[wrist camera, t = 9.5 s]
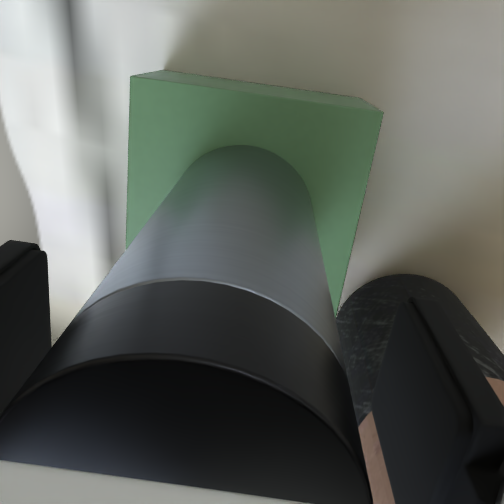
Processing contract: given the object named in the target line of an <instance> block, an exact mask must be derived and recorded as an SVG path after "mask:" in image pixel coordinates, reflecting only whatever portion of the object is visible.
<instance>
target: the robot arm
mask: <svg viewBox="0 0 504 504" xmlns="http://www.w3.org/2000/svg"><path fill="white" fill-rule="evenodd" d="M50 349H51V327H50V305H49V284H48V262H47V254H46V252H45V251H40V248H39V246H38V245H37V244H35V243H28V242H21V241H14V240H9V241H7V242H6V243H4V244H3V245H2V246H0V415H1V414H2V412H3V411H4V410H5V408H6V407H7V406H8V404H9V403H10V402H11V400H12V399H13V398H14V397H15V395H16V394H17V393H18V391H19V390H20V389H21V387H22V386H23V385H24V383H25V382H26V381H27V379H28V378H29V377H30V376H31V374H32V373H33V372H34V370H35V369H36V368H37V366H38V365H39V364H40V362H41V361H42V360H43V358H44V357H45V356H46V354H47V353H48V352H49V351H50ZM371 409H372V414H373V418H374V422H375V426H376V430H377V434H378V438H379V442H380V446H381V450H382V454H383V458H384V462H385V465H386V469H387V473H388V477H389V481H390V485H391V489H392V493H393V497H394V501H395V504H504V406H503V404H502V403H501V401H500V399H499V398H498V396H497V395H496V393H495V392H494V390H493V388H492V387H491V385H490V384H489V382H488V380H487V379H486V377H485V376H484V374H483V372H482V371H481V369H480V368H479V366H478V364H477V363H476V361H475V360H474V358H473V356H472V355H471V353H470V352H469V350H468V348H467V347H466V345H465V344H464V342H463V340H462V339H461V337H460V336H459V334H458V332H457V331H456V329H455V328H454V326H453V324H452V323H451V321H450V320H449V318H448V316H447V315H446V313H445V312H444V310H443V308H442V307H441V305H440V304H439V302H438V301H437V300H431V299H424V298H417V297H410V298H409V299H408V301H407V302H401V303H400V304H399V306H398V308H397V312H396V315H395V319H394V322H393V326H392V329H391V332H390V336H389V339H388V343H387V346H386V350H385V353H384V356H383V360H382V363H381V367H380V370H379V373H378V377H377V380H376V384H375V387H374V391H373V394H372V400H371ZM0 504H310V503H303V502H296V501H289V500H282V499H276V498H269V497H262V496H255V495H248V494H241V493H234V492H227V491H220V490H213V489H205V488H198V487H191V486H184V485H177V484H170V483H163V482H156V481H149V480H141V479H134V478H127V477H120V476H113V475H106V474H98V473H91V472H84V471H77V470H70V469H62V468H55V467H47V466H40V465H33V464H25V463H18V462H11V461H3V460H0Z"/></svg>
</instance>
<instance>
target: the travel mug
mask: <svg viewBox="0 0 504 504" xmlns="http://www.w3.org/2000/svg"><path fill="white" fill-rule="evenodd" d="M410 297H417V298H424V299H431V300H437V301H438V302H439V304H440V305H441V307H442V308H443V310H444V312H445V313H446V315H447V316H448V318H449V320H450V321H451V323H452V324H453V326H454V328H455V329H456V331H457V332H458V334H459V336H460V337H461V339H462V340H463V342H464V344H465V345H466V347H467V348H468V350H469V352H470V353H471V355H472V356H473V358H474V360H475V361H476V363H477V364H478V366H479V368H480V369H481V371H482V372H483V374H484V376H485V377H486V379H487V380H488V382H489V384H490V385H491V387H492V388H493V390H494V392H495V393H496V395H497V396H498V398H499V399H500V401H501V403H502V404H503V406H504V355H503V354H502V352H501V351H500V350H499V349H498V347H497V346H496V345H495V344H494V342H493V341H492V340H491V339H490V337H489V336H488V335H487V334H486V332H485V331H484V330H483V328H482V327H481V326H480V325H479V323H478V322H477V321H476V320H475V318H474V317H473V316H472V315H471V314H470V312H469V311H468V310H467V309H466V307H465V306H464V305H463V304H462V303H461V301H460V300H459V299H458V298H457V297H456V296H455V295H454V294H453V293H452V292H451V291H450V290H449V289H448V288H447V287H445V286H444V285H442V284H441V283H438V282H436V281H434V280H432V279H429V278H426V277H423V276H418V275H410V274H399V275H391V276H386V277H383V278H379V279H377V280H374V281H372V282H370V283H368V284H366V285H364V286H362V287H361V288H360V289H358V290H357V291H356V292H354V293H353V294H352V295H351V296H350V297H349V298H348V299H347V301H346V302H345V303H344V305H343V306H342V308H341V309H340V311H339V313H338V315H337V318H336V324H337V329H338V334H339V339H340V343H341V348H342V353H343V358H344V363H345V367H346V372H347V377H348V382H349V387H350V391H351V396H352V401H353V406H354V410H355V415H356V420H357V425H358V429H359V434H360V439H361V444H362V449H363V453H364V458H365V463H366V468H367V473H368V477H369V482H370V487H371V492H372V497H373V504H395V501H394V497H393V493H392V489H391V485H390V481H389V477H388V473H387V469H386V465H385V462H384V458H383V454H382V450H381V446H380V442H379V438H378V434H377V430H376V426H375V422H374V418H373V414H372V409H371V400H372V394H373V391H374V387H375V384H376V380H377V377H378V373H379V370H380V367H381V363H382V360H383V356H384V353H385V350H386V346H387V343H388V339H389V336H390V332H391V329H392V326H393V322H394V319H395V315H396V312H397V308H398V306H399V304H400V303H401V302H407V301H408V299H409V298H410Z"/></svg>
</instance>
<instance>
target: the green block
mask: <svg viewBox="0 0 504 504" xmlns="http://www.w3.org/2000/svg"><path fill="white" fill-rule="evenodd" d="M383 114H384V112H383V111H381V110H379V109H378V108H376V107H374V106H373V105H371V104H369V103H368V102H366V101H364V100H363V99H361V98H356V97H349V96H342V95H335V94H328V93H321V92H314V91H307V90H300V89H293V88H286V87H279V86H272V85H265V84H258V83H251V82H244V81H237V80H230V79H223V78H216V77H209V76H202V75H195V74H188V73H181V72H174V71H167V70H160V71H155V72H149V73H144V74H138V75H133V76H131V77H130V106H129V143H128V181H127V219H126V249H127V248H128V247H129V245H130V244H131V243H132V241H133V240H134V239H135V237H136V236H137V235H138V233H139V232H140V231H141V230H142V228H143V227H144V226H145V224H146V223H147V222H148V220H149V219H150V218H151V216H152V215H153V214H154V212H155V211H156V210H157V209H158V207H159V206H160V205H161V203H162V202H163V201H164V199H165V198H166V197H167V195H168V194H169V193H170V191H171V190H172V189H173V187H174V186H175V185H176V184H177V182H178V181H179V180H180V178H181V177H182V176H183V174H184V173H185V172H186V170H187V169H188V168H189V167H190V166H191V165H192V164H193V163H194V162H195V161H196V160H198V159H199V158H200V157H202V156H203V155H205V154H207V153H209V152H211V151H213V150H216V149H218V148H222V147H226V146H233V145H249V146H255V147H259V148H262V149H266V150H268V151H270V152H273V153H275V154H276V155H278V156H280V157H281V158H283V159H284V160H285V161H287V162H288V163H289V164H290V165H291V166H292V167H293V168H294V169H295V170H296V171H297V172H298V174H299V175H300V177H301V178H302V179H303V181H304V183H305V185H306V187H307V190H308V193H309V195H310V200H311V205H312V209H313V214H314V219H315V224H316V229H317V233H318V238H319V243H320V248H321V253H322V257H323V262H324V267H325V272H326V276H327V281H328V286H329V291H330V296H331V300H332V305H333V310H334V315H335V319H336V315H337V310H338V306H339V302H340V298H341V293H342V289H343V285H344V281H345V276H346V272H347V268H348V263H349V259H350V255H351V251H352V246H353V242H354V238H355V233H356V229H357V225H358V221H359V216H360V212H361V208H362V204H363V199H364V195H365V191H366V186H367V182H368V178H369V174H370V169H371V165H372V161H373V156H374V152H375V148H376V144H377V139H378V135H379V131H380V127H381V122H382V118H383Z"/></svg>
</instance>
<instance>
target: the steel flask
mask: <svg viewBox="0 0 504 504" xmlns="http://www.w3.org/2000/svg"><path fill="white" fill-rule="evenodd" d="M0 460H3V461H11V462H18V463H25V464H33V465H40V466H47V467H55V468H62V469H70V470H77V471H84V472H91V473H98V474H106V475H113V476H120V477H127V478H134V479H141V480H149V481H156V482H163V483H170V484H177V485H184V486H191V487H198V488H205V489H213V490H220V491H227V492H234V493H241V494H248V495H255V496H262V497H269V498H276V499H282V500H289V501H296V502H303V503H310V504H373V497H372V492H371V487H370V482H369V477H368V473H367V468H366V463H365V458H364V453H363V449H362V444H361V439H360V434H359V429H358V425H357V420H356V415H355V410H354V406H353V401H352V396H351V391H350V387H349V382H348V377H347V372H346V367H345V363H344V358H343V353H342V348H341V343H340V339H339V334H338V329H337V324H336V319H335V315H334V310H333V305H332V300H331V296H330V291H329V286H328V281H327V276H326V272H325V267H324V262H323V257H322V253H321V248H320V243H319V238H318V233H317V229H316V224H315V219H314V214H313V209H312V205H311V200H310V195H309V193H308V190H307V187H306V185H305V183H304V181H303V179H302V178H301V177H300V175H299V174H298V172H297V171H296V170H295V169H294V168H293V167H292V166H291V165H290V164H289V163H288V162H287V161H285V160H284V159H283V158H281V157H280V156H278V155H276V154H275V153H273V152H270V151H268V150H266V149H262V148H259V147H255V146H249V145H233V146H226V147H222V148H218V149H216V150H213V151H211V152H209V153H207V154H205V155H203V156H202V157H200V158H199V159H198V160H196V161H195V162H194V163H193V164H192V165H191V166H190V167H189V168H188V169H187V170H186V172H185V173H184V174H183V176H182V177H181V178H180V180H179V181H178V182H177V184H176V185H175V186H174V187H173V189H172V190H171V191H170V193H169V194H168V195H167V197H166V198H165V199H164V201H163V202H162V203H161V205H160V206H159V207H158V209H157V210H156V211H155V212H154V214H153V215H152V216H151V218H150V219H149V220H148V222H147V223H146V224H145V226H144V227H143V228H142V230H141V231H140V232H139V233H138V235H137V236H136V237H135V239H134V240H133V241H132V243H131V244H130V245H129V247H128V248H127V249H126V251H125V252H124V253H123V255H122V256H121V257H120V258H119V260H118V261H117V262H116V264H115V265H114V266H113V268H112V269H111V270H110V272H109V273H108V274H107V276H106V277H105V278H104V280H103V281H102V282H101V283H100V285H99V286H98V287H97V289H96V290H95V291H94V293H93V294H92V295H91V297H90V298H89V299H88V301H87V302H86V303H85V304H84V306H83V307H82V308H81V310H80V311H79V312H78V314H77V315H76V316H75V318H74V319H73V320H72V322H71V323H70V324H69V326H68V327H67V328H66V329H65V331H64V332H63V333H62V335H61V336H60V337H59V339H58V340H57V341H56V343H55V344H54V345H53V347H52V348H51V349H50V351H49V352H48V353H47V354H46V356H45V357H44V358H43V360H42V361H41V362H40V364H39V365H38V366H37V368H36V369H35V370H34V372H33V373H32V374H31V376H30V377H29V378H28V379H27V381H26V382H25V383H24V385H23V386H22V387H21V389H20V390H19V391H18V393H17V394H16V395H15V397H14V398H13V399H12V400H11V402H10V403H9V404H8V406H7V407H6V408H5V410H4V411H3V412H2V414H1V415H0Z"/></svg>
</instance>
